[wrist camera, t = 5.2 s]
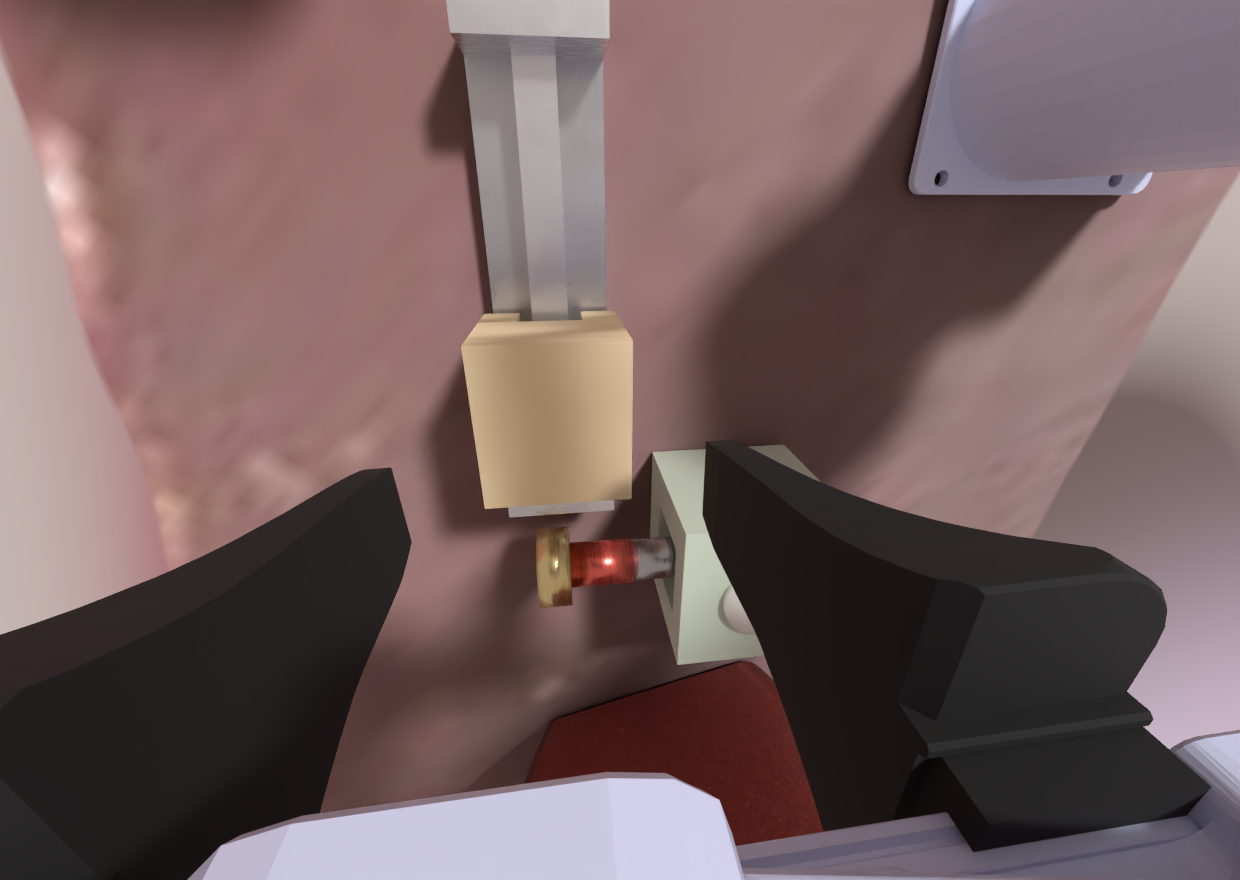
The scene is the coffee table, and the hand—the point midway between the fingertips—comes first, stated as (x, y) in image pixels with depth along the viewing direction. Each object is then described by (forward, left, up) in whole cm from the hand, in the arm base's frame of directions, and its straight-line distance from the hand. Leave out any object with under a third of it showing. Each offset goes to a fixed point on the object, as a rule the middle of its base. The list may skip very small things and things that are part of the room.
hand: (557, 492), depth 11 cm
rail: (0, -3, -9) cm, 9 cm away
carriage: (0, 0, -7) cm, 8 cm away
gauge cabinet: (-7, +7, -9) cm, 13 cm away
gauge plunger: (-2, +7, -7) cm, 10 cm away
